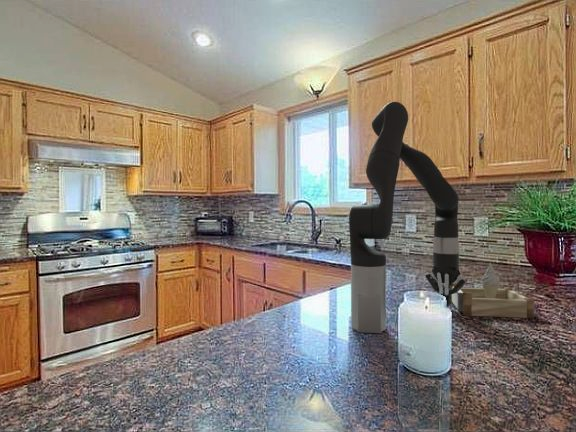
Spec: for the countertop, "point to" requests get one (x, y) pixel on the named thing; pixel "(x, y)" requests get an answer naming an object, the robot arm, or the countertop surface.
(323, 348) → the countertop surface
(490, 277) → the ice cream cone
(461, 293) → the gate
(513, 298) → the shallow wooden tray
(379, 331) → the robot arm
